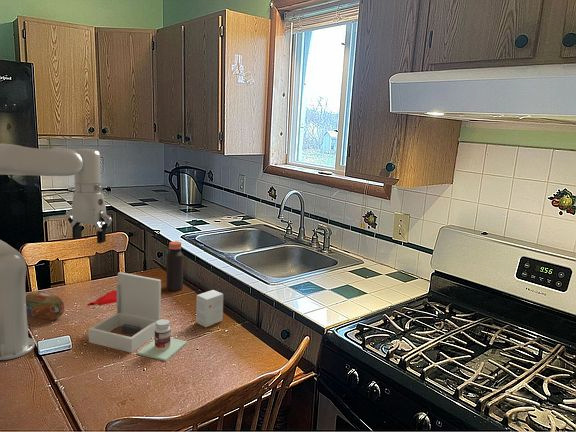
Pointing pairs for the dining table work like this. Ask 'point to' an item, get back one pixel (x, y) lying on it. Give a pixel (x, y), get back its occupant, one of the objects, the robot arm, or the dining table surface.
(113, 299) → the cloth
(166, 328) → the pill bottle
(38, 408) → the dining table surface
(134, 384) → the dining table surface
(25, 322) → the robot arm
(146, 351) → the mat
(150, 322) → the equipment case
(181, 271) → the vinegar
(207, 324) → the small box
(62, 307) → the tin
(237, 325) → the dining table surface
